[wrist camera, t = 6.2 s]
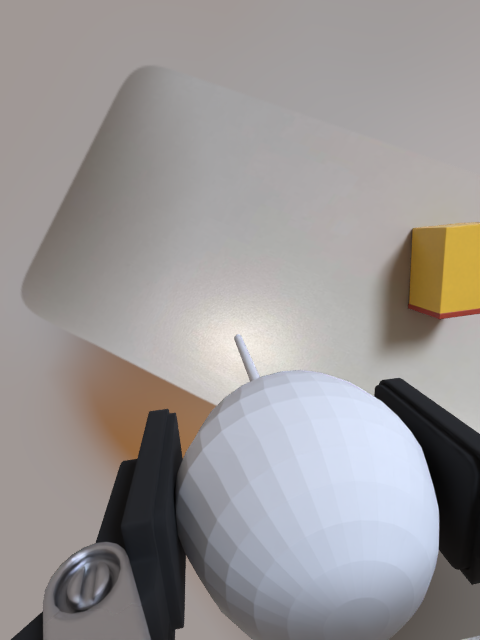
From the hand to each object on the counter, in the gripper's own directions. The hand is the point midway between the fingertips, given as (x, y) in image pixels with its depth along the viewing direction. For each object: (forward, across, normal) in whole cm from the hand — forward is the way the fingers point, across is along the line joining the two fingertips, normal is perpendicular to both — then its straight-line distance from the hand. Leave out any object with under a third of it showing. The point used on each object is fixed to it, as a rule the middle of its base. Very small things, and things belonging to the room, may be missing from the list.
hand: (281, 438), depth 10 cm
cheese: (+26, -25, -1) cm, 36 cm away
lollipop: (+10, 0, 0) cm, 10 cm away
